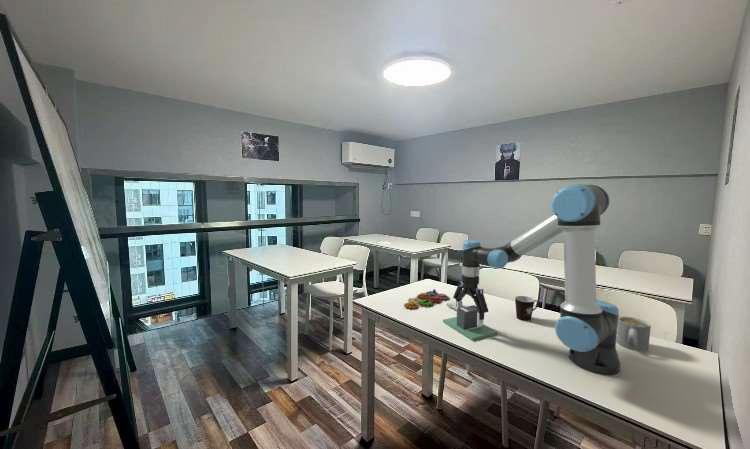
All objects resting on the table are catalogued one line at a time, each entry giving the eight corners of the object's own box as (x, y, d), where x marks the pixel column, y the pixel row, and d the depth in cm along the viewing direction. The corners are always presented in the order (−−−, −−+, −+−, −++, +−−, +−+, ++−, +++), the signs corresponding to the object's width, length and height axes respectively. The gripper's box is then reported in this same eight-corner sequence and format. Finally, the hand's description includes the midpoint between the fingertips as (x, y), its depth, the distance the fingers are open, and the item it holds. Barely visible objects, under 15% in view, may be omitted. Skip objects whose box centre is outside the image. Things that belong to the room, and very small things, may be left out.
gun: (443, 303, 160) (452, 298, 167) (442, 309, 160) (452, 304, 167) (475, 314, 147) (484, 309, 154) (474, 321, 148) (483, 315, 155)
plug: (481, 325, 138) (481, 308, 137) (464, 329, 134) (464, 312, 133) (473, 321, 142) (474, 304, 142) (456, 325, 138) (457, 308, 138)
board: (497, 334, 132) (497, 322, 132) (472, 340, 126) (472, 329, 126) (465, 317, 150) (466, 307, 150) (442, 322, 145) (443, 311, 144)
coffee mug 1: (516, 321, 145) (517, 301, 144) (512, 314, 154) (513, 295, 153) (542, 323, 143) (543, 303, 142) (537, 316, 151) (538, 297, 150)
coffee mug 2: (621, 336, 129) (623, 314, 128) (651, 346, 121) (654, 322, 120) (609, 345, 122) (611, 322, 121) (640, 357, 114) (643, 331, 113)
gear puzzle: (415, 313, 156) (416, 306, 155) (394, 305, 168) (394, 297, 168) (451, 299, 176) (451, 293, 176) (429, 292, 188) (429, 286, 188)
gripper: (498, 281, 126) (496, 329, 128) (458, 267, 148) (457, 309, 151) (484, 283, 123) (482, 333, 125) (446, 269, 145) (445, 311, 148)
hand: (469, 320), depth 138 cm, fingers open, 13 cm apart
